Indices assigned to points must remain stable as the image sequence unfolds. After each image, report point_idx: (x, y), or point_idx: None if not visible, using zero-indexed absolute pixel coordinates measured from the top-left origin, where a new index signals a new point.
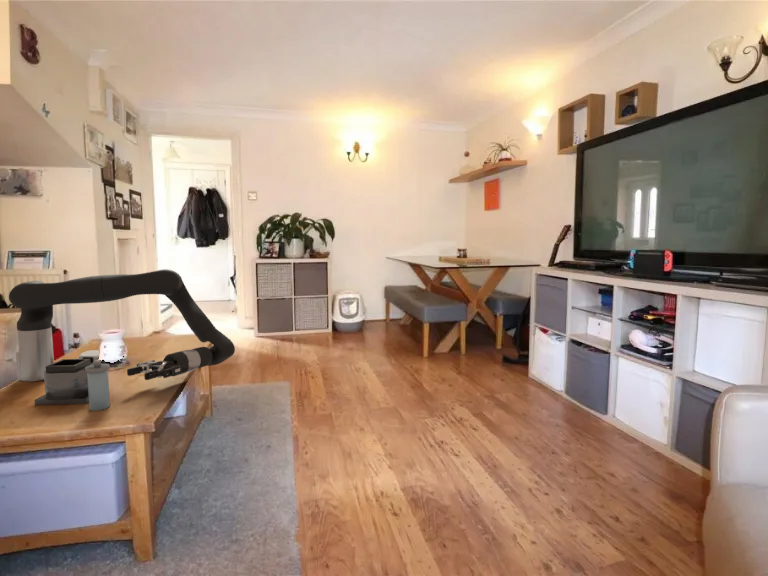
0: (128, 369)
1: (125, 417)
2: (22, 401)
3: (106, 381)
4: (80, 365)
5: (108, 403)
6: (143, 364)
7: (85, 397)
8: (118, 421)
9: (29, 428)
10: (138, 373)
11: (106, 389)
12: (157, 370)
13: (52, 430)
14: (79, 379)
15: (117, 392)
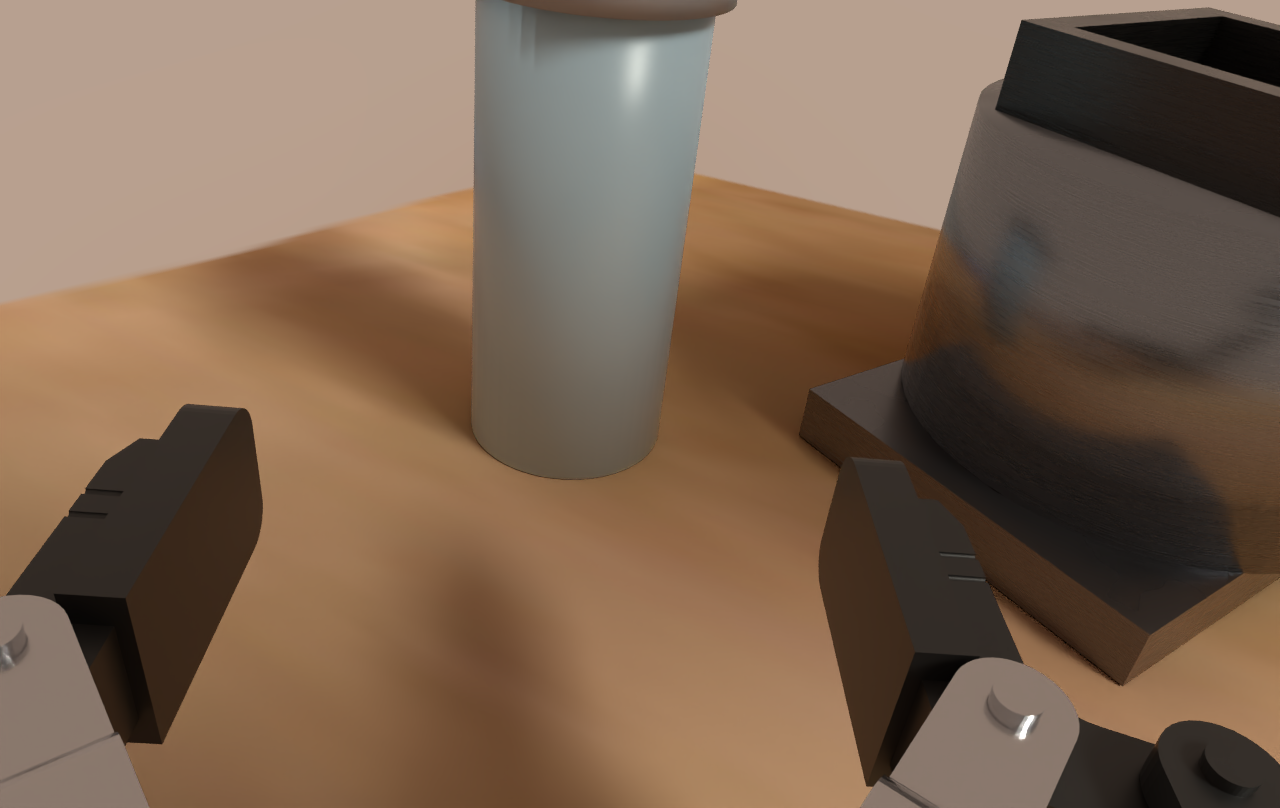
0: (868, 459)
1: (72, 368)
2: None
3: (478, 143)
4: (1118, 81)
5: (479, 403)
6: (1049, 800)
7: (853, 400)
8: (77, 320)
9: None
10: (859, 744)
11: (476, 238)
12: (49, 614)
13: (445, 199)
14: (961, 207)
15: None
